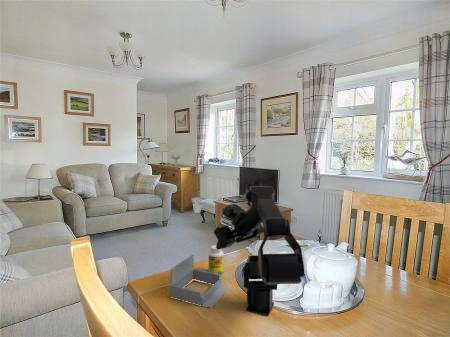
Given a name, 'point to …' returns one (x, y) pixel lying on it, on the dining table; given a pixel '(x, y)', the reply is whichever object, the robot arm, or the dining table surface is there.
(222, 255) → the supplement bottle
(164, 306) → the dining table surface
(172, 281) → the carton
